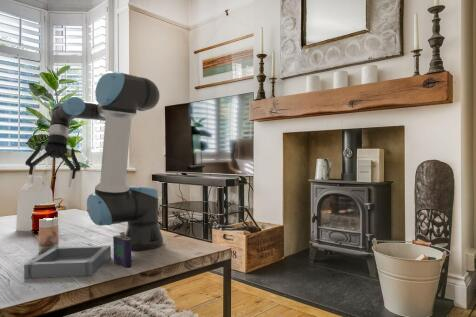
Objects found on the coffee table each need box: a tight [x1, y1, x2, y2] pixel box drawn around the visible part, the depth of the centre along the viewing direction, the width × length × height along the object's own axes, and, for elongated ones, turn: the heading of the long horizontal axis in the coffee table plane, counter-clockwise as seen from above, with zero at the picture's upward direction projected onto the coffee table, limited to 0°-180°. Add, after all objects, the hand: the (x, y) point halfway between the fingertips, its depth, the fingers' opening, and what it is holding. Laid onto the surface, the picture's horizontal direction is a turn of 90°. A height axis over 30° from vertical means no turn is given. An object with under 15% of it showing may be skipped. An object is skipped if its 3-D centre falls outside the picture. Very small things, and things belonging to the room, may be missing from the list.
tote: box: [23, 244, 112, 279], centre depth 107 cm, size 19×19×4 cm
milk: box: [15, 175, 54, 232], centre depth 167 cm, size 12×12×26 cm
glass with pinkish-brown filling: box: [38, 217, 60, 254], centre depth 126 cm, size 6×6×12 cm
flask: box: [112, 231, 133, 269], centre depth 109 cm, size 9×3×11 cm, turn 48°
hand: (51, 184), depth 137 cm, fingers open, 13 cm apart
